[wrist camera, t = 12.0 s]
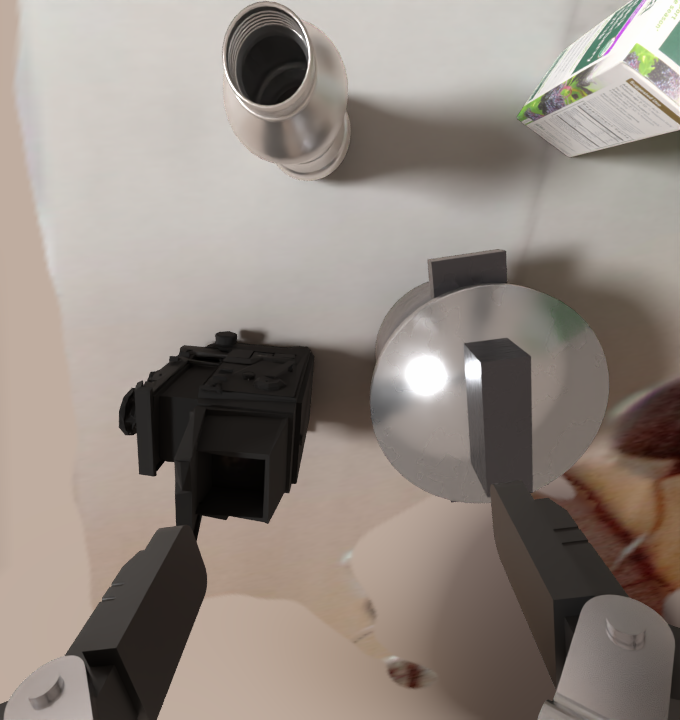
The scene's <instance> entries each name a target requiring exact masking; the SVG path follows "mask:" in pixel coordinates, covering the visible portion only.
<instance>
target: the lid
mask: <svg viewBox="0 0 680 720" xmlns="http://www.w3.org/2000/svg"><path fill="white" fill-rule="evenodd" d="M608 396H609V372H608V367H607V361H606V358H605V355H604V352H603V349H602V346H601V344H600V343H599V341H598V339H597V337H596V335H595V333H594V332H593V331H592V329H591V328H590V327H589V325H588V324H587V323H586V321H585V320H584V319H583V318H581V317H580V316H579V315H578V314H577V313H576V312H575V311H574V310H573V309H571V308H570V307H568V306H567V305H566V304H564V303H563V302H561V301H559V300H557V299H555V298H553V297H551V296H549V295H547V294H545V293H542V292H539V291H537V290H534V289H531V288H528V287H524V286H519V285H514V284H505V283H486V284H476V285H471V286H466V287H461V288H458V289H455V290H452V291H449V292H447V293H444V294H442V295H440V296H438V297H436V298H434V299H432V300H430V301H429V302H427V303H426V304H424V305H422V306H421V307H419V308H418V309H417V310H415V311H414V312H413V313H412V314H411V315H409V316H408V317H407V318H406V319H405V320H404V321H403V322H402V323H401V324H400V325H399V326H398V327H397V328H396V330H395V331H394V332H393V334H392V335H391V336H390V338H389V339H388V341H387V342H386V344H385V345H384V347H383V349H382V351H381V353H380V355H379V357H378V360H377V362H376V365H375V368H374V371H373V376H372V380H371V387H370V410H371V419H372V424H373V428H374V432H375V435H376V438H377V440H378V443H379V445H380V447H381V449H382V451H383V453H384V454H385V456H386V457H387V459H388V460H389V462H390V463H391V464H392V466H393V467H394V468H395V469H396V470H397V471H398V472H399V473H400V474H401V475H402V476H403V477H405V478H406V479H407V480H408V481H410V482H411V483H412V484H414V485H415V486H417V487H419V488H421V489H422V490H424V491H426V492H428V493H431V494H433V495H435V496H438V497H442V498H445V499H448V500H452V501H458V502H464V503H491V495H490V486H491V484H497V483H504V482H511V481H519V480H521V481H522V482H523V483H524V485H525V486H526V488H527V489H528V491H529V492H530V493H533V492H534V491H536V490H538V489H540V488H542V487H543V486H546V485H548V484H549V483H551V482H552V481H554V480H555V479H557V478H558V477H560V476H561V475H562V474H563V473H565V472H566V471H567V470H568V469H569V468H571V467H572V466H573V465H574V464H575V463H576V462H577V461H578V459H579V458H580V457H581V456H582V455H583V454H584V452H585V451H586V450H587V448H588V447H589V446H590V444H591V443H592V441H593V439H594V438H595V436H596V434H597V432H598V430H599V428H600V426H601V423H602V421H603V418H604V415H605V411H606V407H607V404H608Z"/></svg>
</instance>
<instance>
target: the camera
mask: <svg viewBox="0 0 680 720" xmlns="http://www.w3.org/2000/svg"><path fill="white" fill-rule="evenodd" d="M215 337H216V341H215V343H213V344H210V345H209V346H206V347H197V346H185V345H184V346H182V347H181V348H180V353H179V355H178V356H170V359H169V361H170V362H169V363H168V364H166V365H165V366H164V367H163V368H162V369H160V370H158V371H156V372H150V374H149V378H148V380H147V382H145V384H144V385H143V381H140V382H138V383H137V385H136V388H132V389H131V390H130V391H129V392H128V393H127V394H126V395H125V396H124V397H123V401H122V404H121V407H120V410H119V428H120V429H121V430H122V432H123V433H124V434H125V435H134V434H136V433H137V443H138V460H139V474H141V475H148V476H156V471H158V469H159V468H160V467H161V465H162V464H163V463H164V462H165V461H167V462H174V463H175V504H176V526H181V525H189V526H190V527H191V529H192V531H193V533H194V536H195V539H196V541H197V537H198V532H199V527H200V523H201V518H202V515H203V516H208V517H213V518H218V519H223V520H227V518H228V516H233V517H238V518H244V519H249V520H255V521H261V522H265V523H267V524H268V523H269V521H270V519H271V517H272V516H273V514H274V512H275V510H276V508H277V506H278V504H279V502H280V500H281V498H282V496H283V494H284V493H289V492H290V488H291V484H296V483H297V478H298V473H299V468H300V463H301V458H302V453H303V448H304V443H305V438H306V433H307V428H308V423H309V416H310V403H311V391H312V378H313V366H314V355H313V354H312V353H311V352H310V351H311V350H310V349H308V348H307V347H300V346H295V347H291V348H282V347H271V346H260V345H250V344H239V343H237V334H236V333H233V332H230V331H227V332H219V333H217V334H215Z"/></svg>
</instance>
